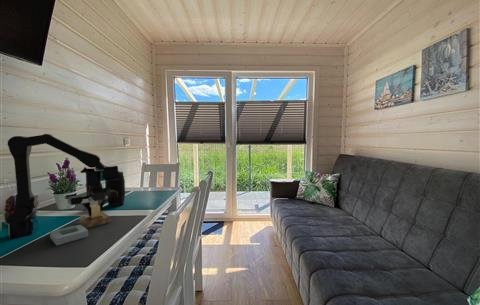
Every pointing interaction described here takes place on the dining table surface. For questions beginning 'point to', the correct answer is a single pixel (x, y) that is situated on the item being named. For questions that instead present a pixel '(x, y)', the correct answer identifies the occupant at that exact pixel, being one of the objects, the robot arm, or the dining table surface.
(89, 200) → the medicine box
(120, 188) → the portable speaker
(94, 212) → the brass pin
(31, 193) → the robot arm
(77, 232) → the socket block
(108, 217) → the walnut mount
